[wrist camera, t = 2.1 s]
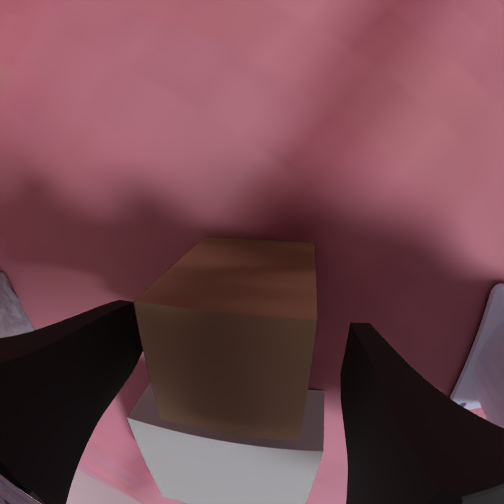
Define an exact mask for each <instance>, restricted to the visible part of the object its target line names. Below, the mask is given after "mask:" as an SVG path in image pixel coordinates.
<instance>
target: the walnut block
mask: <svg viewBox="0 0 504 504" xmlns="http://www.w3.org/2000/svg"><path fill="white" fill-rule="evenodd" d="M134 306H135V312H136V317H137V323H138V328H139V333H140V338H141V343H142V347H143V352H144V356H145V361H146V365H147V369H148V373H149V377H150V381H151V385H152V389H153V393H154V397H155V400H156V404H157V408H158V411H159V415H160V418H161V419H162V420H166V421H170V422H175V423H179V424H183V425H188V426H192V427H197V428H202V429H207V430H213V431H218V432H224V433H230V434H237V435H243V436H251V437H259V438H267V439H277V440H288V441H299V438H300V433H301V427H302V422H303V416H304V410H305V404H306V398H307V392H308V386H309V379H310V373H311V366H312V359H313V351H314V344H315V336H316V328H317V286H316V261H315V243H312V242H295V241H277V240H259V239H240V238H220V237H204V238H203V239H202V240H201V241H200V242H199V243H198V244H196V245H195V246H194V247H193V248H192V249H191V250H190V251H188V252H187V253H186V254H185V255H184V256H183V257H182V258H181V259H179V260H178V261H177V262H176V263H175V264H174V265H173V266H172V267H170V268H169V269H168V270H167V271H166V272H165V273H164V274H163V275H162V276H160V277H159V278H158V279H157V280H156V281H155V282H154V283H153V284H152V285H151V286H149V287H148V288H147V289H146V290H145V291H144V292H143V293H142V294H141V295H140V296H139V297H137V298H136V299H135V300H134Z"/></svg>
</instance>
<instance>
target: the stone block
mask: <svg viewBox="0 0 504 504" xmlns="http://www.w3.org/2000/svg"><path fill="white" fill-rule="evenodd" d="M34 330H35V328H34V327H33V325H32V323H31V321H30V320H29V319H28V317H27V316H26V314H25V312H24V310H23V308H22V305H21V303H20V301H19V299H18V297H17V295H16V293H14V291H13V289H12V286H11V284H10V281H9V279H8V277H7V275H6V273H4V272H0V338H3V337H9V336H15V335H19V334H23V333H27V332H31V331H34Z"/></svg>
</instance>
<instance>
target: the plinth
mask: <svg viewBox="0 0 504 504" xmlns="http://www.w3.org/2000/svg"><path fill="white" fill-rule="evenodd" d="M127 419H128V422H129V425H130V427H131V429H132V432H133V434H134V437H135V439H136V441H137V444H138V446H139V448H140V451H141V453H142V455H143V457H144V459H145V462H146V464H147V466H148V468H149V470H150V472H151V474H152V476H153V478H154V480H155V482H156V484H157V486H158V488H159V490H160V492H161V494H162V496H163V497H166V498H169V499H173V500H176V501H180V502H184V503H187V504H305V503H306V501H307V498H308V495H309V492H310V490H311V487H312V484H313V481H314V478H315V475H316V472H317V469H318V466H319V463H320V460H321V457H322V454H323V441H324V391H321V390H308V392H307V398H306V404H305V410H304V416H303V422H302V427H301V433H300V438H299V441H288V440H277V439H267V438H259V437H251V436H243V435H237V434H230V433H224V432H218V431H213V430H207V429H202V428H197V427H192V426H188V425H183V424H179V423H175V422H170V421H166V420H162V419H161V418H160V415H159V411H158V408H157V404H156V400H155V397H154V393H153V389H152V385H151V382H150V383H149V385H148V386H147V388H146V389H145V391H144V392H143V394H142V395H141V397H140V398H139V400H138V401H137V403H136V404H135V406H134V407H133V409H132V410H131V412H130V413H129V415H128V416H127Z"/></svg>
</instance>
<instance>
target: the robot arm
mask: <svg viewBox="0 0 504 504" xmlns="http://www.w3.org/2000/svg"><path fill="white" fill-rule="evenodd" d="M142 352H143V347H142V343H141V338H140V333H139V328H138V323H137V317H136V312H135V306H134V302H130V301H123V300H118V301H114V302H111V303H108V304H105V305H102V306H99V307H97V308H94V309H92V310H89V311H86V312H84V313H81V314H79V315H76V316H74V317H71V318H69V319H66V320H63V321H61V322H58V323H55V324H52V325H50V326H47V327H44V328H41V329H38V330H34V331H31V332H27V333H23V334H19V335H15V336H9V337H3V338H0V504H40V503H41V504H66V501H67V497H68V494H69V490H70V486H71V483H72V480H73V477H74V474H75V471H76V469H77V466H78V463H79V461H80V458H81V456H82V454H83V452H84V449H85V447H86V445H87V443H88V441H89V439H90V437H91V435H92V433H93V431H94V429H95V427H96V425H97V423H98V421H99V420H100V418H101V416H102V415H103V413H104V412H105V410H106V409H107V408H108V406H109V405H110V403H111V402H112V400H113V399H114V398H115V396H116V395H117V393H118V392H119V391H120V389H121V388H122V386H123V385H124V383H125V382H126V381H127V379H128V378H129V376H130V375H131V373H132V372H133V370H134V368H135V366H136V364H137V362H138V360H139V358H140V356H141V354H142ZM341 406H342V413H343V422H344V430H345V438H346V447H347V457H348V484H347V501H346V504H504V284H497V285H495V286H494V287H493V288H492V290H491V292H490V295H489V299H488V302H487V305H486V309H485V312H484V315H483V318H482V321H481V324H480V327H479V330H478V332H477V335H476V338H475V341H474V343H473V346H472V348H471V351H470V354H469V356H468V358H467V361H466V363H465V366H464V368H463V370H462V373H461V375H460V377H459V379H458V381H457V384H456V386H455V388H454V390H453V392H452V394H451V396H450V398H449V397H447V396H446V395H444V394H443V393H442V392H440V391H439V390H438V389H436V388H435V387H434V386H432V385H431V384H430V383H429V382H428V381H426V380H425V379H424V378H423V377H422V376H421V375H420V374H419V373H417V372H416V371H415V370H414V369H413V368H412V367H411V366H410V365H409V364H408V363H407V362H406V361H405V360H404V359H403V358H402V357H401V356H400V355H399V354H398V353H397V352H396V351H395V350H394V349H393V348H392V347H391V346H390V345H389V344H388V343H387V341H386V340H385V339H384V338H383V337H382V336H381V335H380V334H379V333H378V332H377V331H376V329H375V328H374V327H373V326H372V325H371V324H370V323H350V328H349V334H348V339H347V344H346V349H345V354H344V359H343V364H342V369H341ZM481 407H482V409H483V411H484V413H485V415H486V418H487V420H488V421H487V420H485V419H483V418H481V417H479V416H477V415H476V414H474V413H472V412H471V411H469V409H475V408H481ZM20 489H21V490H22V491H21V490H20ZM24 492H25V493H26V494H25V493H24ZM27 494H28V495H29V496H31V497H32V498H31V497H29V496H28V495H27ZM33 498H34V499H35V500H37V501H38V502H40V503H38V502H37V501H35V500H34V499H33Z"/></svg>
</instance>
